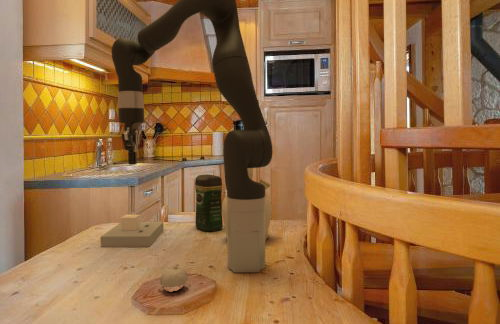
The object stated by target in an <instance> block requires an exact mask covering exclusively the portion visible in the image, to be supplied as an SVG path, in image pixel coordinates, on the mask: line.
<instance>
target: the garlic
mask: <svg viewBox="0 0 500 324" xmlns="http://www.w3.org/2000/svg"><path fill="white" fill-rule="evenodd" d="M178 267H179V264H178V263H175V265H174V266H173V267H171V268H168V269H166V270H165V271H164V272H163V273H162V275H161V276H160V280H159V282H160V283H159V284H160V286H161V285H163V287H166V288H167V287H175V286H181V285H184V284H185V283H186V284H187V282H188V278H189V275H188V271H187V270H185V269H183V268H178ZM186 281H187V282H186ZM186 284H185V285H186ZM163 287H162V288H163Z"/></svg>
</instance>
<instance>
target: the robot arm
mask: <svg viewBox="0 0 500 324" xmlns="http://www.w3.org/2000/svg"><path fill="white" fill-rule="evenodd" d="M199 13H201V14H202V15H203V16H205V17H206V18H207V19H209V21H210V22H211V24H212V27H213V29H214V30H213V31H214V34H215V39H216V44H215V47H214V51H213V54H212V60H211V61H212V62H211V65H212V69H213V75H214V80H215V85H216V86H217V89H218V91H219V92H220V94H221V95H222V97H223V98H224V99H225V100H226V101H227V103H228V104H229V105H230V106H231V107H232V108H233V110H234V111H235V112H236V113H237V116H238V117H239V118H240V121H241V122H242V125H243V128H244V129H233V130H231V131H228V132H227V134H226V135H225V138H224V140H223V147H222V148H223V151H222V152H223V153H222V154H223V155H222V157H223V168H224V183H225V184H226V185H225V190H226V189H227V190H226V195H227V234H226V238H227V239H226V240H227V246H226V247H227V268H228V269H229V270H231V271H232V272H233V273H260V271H261V270H263V269H265V267H266V240H265V192H266V190H265V186H264V185H263V184H261V183H259V182H257V181H256V180H255V181H254V180H253V179H252V180H251V179H250V178H249V176H248V169H247V168H253V169H257V168H258V169H259V168H265V167H267V166H269V165H270V163H271V161H272V159H273V152H274V151H273V144H272V138H271V135H270V132H269V130H268V127H267V123H266V121H265V118H264V116H263V113H262V110H261V107H260V103H259V100H258V96H257V93H256V89H255V86H254V81H253V76H252V72H251V68H250V63H249V60H248V59H249V58H248V56H247V52H246V48H245V45H244V41H243V38H242V37H243V36H242V33H241V28H240V27H241V26H240V21H239V14H238V13H239V12H238V4H237V1H236V0H177V1H176V2H175V3H174V4H173V5H172V6H171V7H170V8H169V9H168V10H167V11H166V12H165V13H164V14H162V15H161V16H159V17H158V18H157V19H155V20H153V21H152V22H151V23H149V24H148V25H146V26H145V27H142V29H140V30H139V31H138V33H137V38H136V39H137V40H136V41H135V40H131V39H128V38H124V37H120V38H117V39H115V41H113V44H112V45H111V59H112V63H113V66H114V68H115V69H114V70H115V73H116V76H117V80H118V81H117V82H118V85H117V86H118V87H117V88H118V95H117V111H118V112H117V113H118V114H117V115H118V119H117V120H118V123H119V124H124V128H123V133H121V139H122V142H123V146H124V149H125V151H126V152H127V158H128V165H130V166H132V165H133V166H134V165H137V164H138V154H137V153H138V151H139V150H140V145H141V140H142V134H141V130H140V129H139V124H144V123H145V101H144V100H145V99H144V91H143V88H144V87H143V76H142V74H141V73H140V72H137V71H136V70H135V69H134V68H135V67H134V66H136V67H137V66H140V65H143V64H145V63H146V62H147V61H148V60H149V59H150V58H151V57H152V56H153V55H154V54H155V52H156V51H159V50H160V49H162V48H163V47H164V46H167V45H168V44H170V43H171V42H172V41H173V40H175V38H176V37H177V36H178V34H179V31H180V30H181V28H182V26H183V24H184V23H185V21H186V20H188V19H189V18H191V17H192V16H194V15H196V14H199Z"/></svg>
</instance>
